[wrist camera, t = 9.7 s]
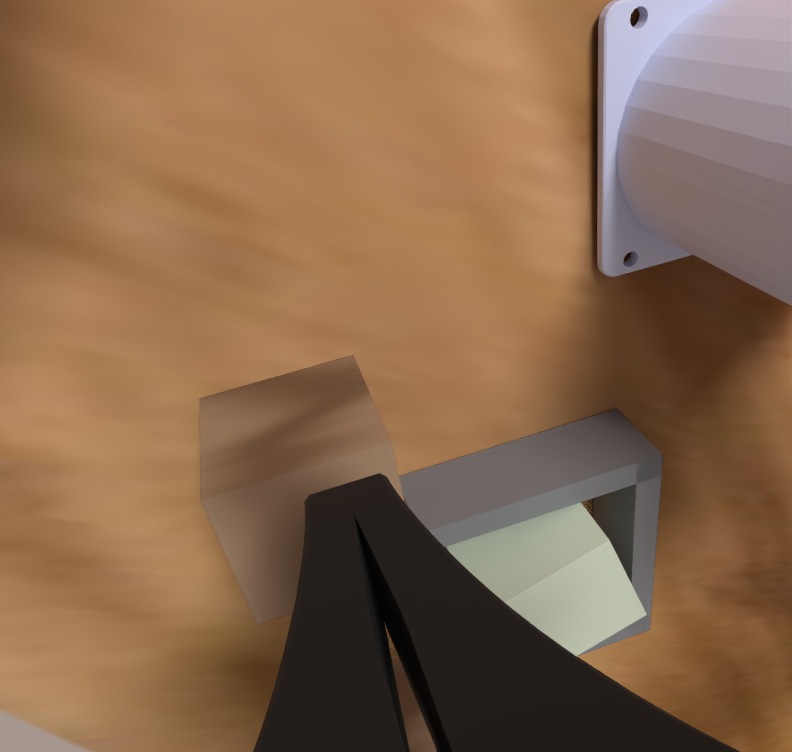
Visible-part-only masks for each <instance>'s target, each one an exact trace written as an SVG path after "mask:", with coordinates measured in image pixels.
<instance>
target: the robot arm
mask: <svg viewBox="0 0 792 752" xmlns="http://www.w3.org/2000/svg"><path fill="white" fill-rule="evenodd" d="M635 8H637V9H638V10H639V15H640V16H639V20H638V22H637V23H636V25H635V26H634V27H632V26H631V23H630V17H631V13H632V12H633V11H634V9H635ZM629 252H631V256H630V258H629V259H628V261H626V262H623V260H624V257H625V256H626V254H627V253H629ZM690 255H694V256H696V257H698V258H700V259H702V260H704V261H706V262H708V263H710V264H712V265H714V266H716V267H718V268H719V269H721V270H723V271H725V272H727V273H729V274H731V275H733V276H735V277H737V278H739V279H741V280H742V281H744V282H746V283H748V284H750V285H752V286H754V287H756V288H758V289H760V290H762V291H764V292H766V293H767V294H769V295H771V296H773V297H775V298H777V299H779V300H781V301H783V302H785V303H787V304H789V305H791V306H792V0H614V1H612V2H610V3H608V4H607V5H606V6H605V8H604V9H603V10H602V12H601V15H600V17H599V23H598V201H597V265H598V269H599V270H600V271H601V272H602V273H603V274H605V275H607V276H609V277H616V276H619V275H623V274H627V273H630V272H634V271H637V270H641V269H644V268H648V267H651V266H655V265H658V264H662V263H666V262H669V261H673V260H676V259H680V258H683V257H687V256H690ZM304 505H305V533H304V545H303V554H302V563H301V569H300V575H299V581H298V588H297V594H296V600H295V605H294V610H293V615H292V619H291V624H290V628H289V632H288V637H287V641H286V645H285V650H284V654H283V658H282V662H281V665H280V669H279V673H278V676H277V680H276V684H275V687H274V690H273V694H272V697H271V700H270V703H269V707H268V710H267V713H266V716H265V719H264V722H263V725H262V728H261V731H260V734H259V737H258V740H257V742H256V745H255V748H254V751H253V752H410V749H409V744H408V739H407V734H406V729H405V724H404V719H403V714H402V709H401V704H400V699H399V694H398V689H397V684H396V678H395V673H394V668H393V663H392V658H391V653H390V648H389V643H388V638H387V633H386V628H385V625H386V627H387V630H388V632H389V634H390V637H391V639H392V642H393V644H394V647H395V649H396V652H397V654H398V657H399V659H400V662H401V664H402V667H403V669H404V671H405V674H406V676H407V679H408V681H409V684H410V686H411V689H412V691H413V694H414V696H415V698H416V701H417V703H418V706H419V708H420V711H421V713H422V716H423V718H424V721H425V723H426V725H427V728H428V730H429V733H430V735H431V738H432V740H433V743H434V745H435V748H436V751H437V752H740V751H738V750H736V749H734V748H732V747H730V746H728V745H726V744H724V743H722V742H720V741H718V740H716V739H714V738H712V737H711V736H709V735H707V734H705V733H703V732H701V731H699V730H698V729H696V728H694V727H692V726H690V725H688V724H686V723H685V722H683V721H681V720H679V719H677V718H676V717H674V716H672V715H671V714H669V713H667V712H665V711H664V710H662V709H660V708H658V707H657V706H655V705H653V704H652V703H650V702H648V701H646V700H645V699H643V698H641V697H639V696H638V695H636V694H634V693H633V692H631V691H630V690H628V689H627V688H625V687H623V686H622V685H620V684H619V683H617V682H616V681H614V680H613V679H611V678H609V677H608V676H606V675H605V674H603V673H602V672H600V671H599V670H597V669H595V668H594V667H592V666H591V665H589V664H588V663H586V662H585V661H583V660H581V659H580V658H578V657H577V656H575V655H574V654H572V653H571V652H569V651H568V650H567V649H565V648H564V647H562V646H561V645H560V644H558V643H557V642H556V641H554V640H553V639H551V638H550V637H549V636H547V635H546V634H544V633H543V632H542V631H540V630H539V629H538V628H536V627H535V626H534V625H533V624H531V623H530V622H529V621H527V620H526V619H525V618H523V617H522V616H521V615H520V614H518V613H517V612H516V611H515V610H513V609H512V608H511V607H510V606H508V605H507V604H506V603H505V602H504V601H502V600H501V599H500V598H499V597H498V596H496V595H495V594H494V593H493V592H492V591H491V590H489V589H488V588H487V587H486V586H485V585H484V584H483V583H482V582H481V581H479V580H478V579H477V578H476V577H475V576H474V575H473V574H472V573H471V572H469V571H468V570H467V569H466V568H465V567H464V566H463V565H462V564H461V563H460V562H459V561H458V560H457V559H456V558H455V557H454V556H453V555H452V554H451V553H450V552H449V551H448V550H447V549H446V548H445V547H444V546H443V545H442V544H441V543H440V542H439V541H438V540H437V539H436V538H435V537H434V536H433V535H432V534H431V532H430V531H429V530H428V529H427V528H426V527H425V526H424V525H423V524H422V523H421V521H420V520H419V519H418V518H417V517H416V516H415V514H414V513H413V512H412V511H411V510H410V508H409V507H408V506H407V505H406V503H405V502H404V501H403V500H402V498H401V497H400V496H399V494H398V493H397V492H396V490H395V489H394V487H393V486H392V484H391V483H390V481H389V479H388V478H387V476H385V475H383V474H380V473H378V474H375V475H372V476H368V477H365V478H362V479H359V480H356V481H352V482H349V483H346V484H343V485H339V486H336V487H333V488H330V489H327V490H323V491H320V492H317V493H314V494H310V495H309V496H308V497H307V499H306V500H305V502H304ZM384 622H385V623H384Z"/></svg>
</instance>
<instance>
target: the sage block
mask: <svg viewBox="0 0 792 752" xmlns="http://www.w3.org/2000/svg"><path fill="white" fill-rule="evenodd" d="M447 549H448V551H449V552H450V553H451V554H452V555H453V556H454V557H455V558H456V559H457V560H458V561H459V562H460V563H461V564H462V565H463V566H464V567H465V568H466V569H467V570H468V571H469V572H471V573H472V574H473V575H474V576H475V577H476V578H477V579H478V580H479V581H481V582H482V583H483V584H484V585H485V586H486V587H487V588H488V589H489V590H491V591H492V592H493V593H494V594H495V595H496V596H498V597H499V598H500V599H501V600H502V601H504V602H505V603H506V604H507V605H508V606H510V607H511V608H512V609H513V610H515V611H516V612H517V613H518V614H520V615H521V616H522V617H523V618H525V619H526V620H527V621H529V622H530V623H531V624H533V625H534V626H535V627H536V628H538V629H539V630H540V631H542V632H543V633H544V634H546V635H547V636H549V637H550V638H551V639H553V640H554V641H556V642H557V643H558V644H560V645H561V646H562V647H564V648H565V649H567V650H568V651H569V652H571V653H572V654H574V655H575V656H578V655H579V654H581V653H583V652H584V651H586V650H588V649H590V648H591V647H593V646H595V645H596V644H598V643H600V642H601V641H603V640H605V639H607V638H608V637H610V636H612V635H613V634H615V633H617V632H618V631H620V630H622V629H624V628H625V627H627V626H629V625H630V624H632V623H634V622H635V621H637V620H639V619H641V618H642V617H644V616H646V615H647V614H646V612H645V610H644V608H643V606H642V604H641V602H640V600H639V598H638V596H637V594H636V592H635V590H634V588H633V586H632V584H631V582H630V580H629V578H628V576H627V574H626V572H625V570H624V568H623V566H622V564H621V562H620V560H619V558H618V556H617V554H616V552H615V550H614V548H613V546H612V544H611V542H610V540H609V539H608V538H607V536H606V535H605V534H604V532H603V531H602V530H601V528H600V527H599V526H598V524H597V523H596V522H595V520H594V519H593V518H592V517H591V515H590V514H589V513H588V511H587V510H586V509H585V507H584V506H583V505H582V503H581V502H580V503H577V504H574V505H571V506H568V507H565V508H562V509H559V510H556V511H553V512H550V513H547V514H544V515H541V516H538V517H535V518H532V519H529V520H526V521H523V522H520V523H517V524H514V525H511V526H508V527H505V528H502V529H499V530H496V531H493V532H489V533H486V534H483V535H480V536H477V537H474V538H471V539H468V540H465V541H462V542H459V543H456V544H453V545H450V546H447Z"/></svg>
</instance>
